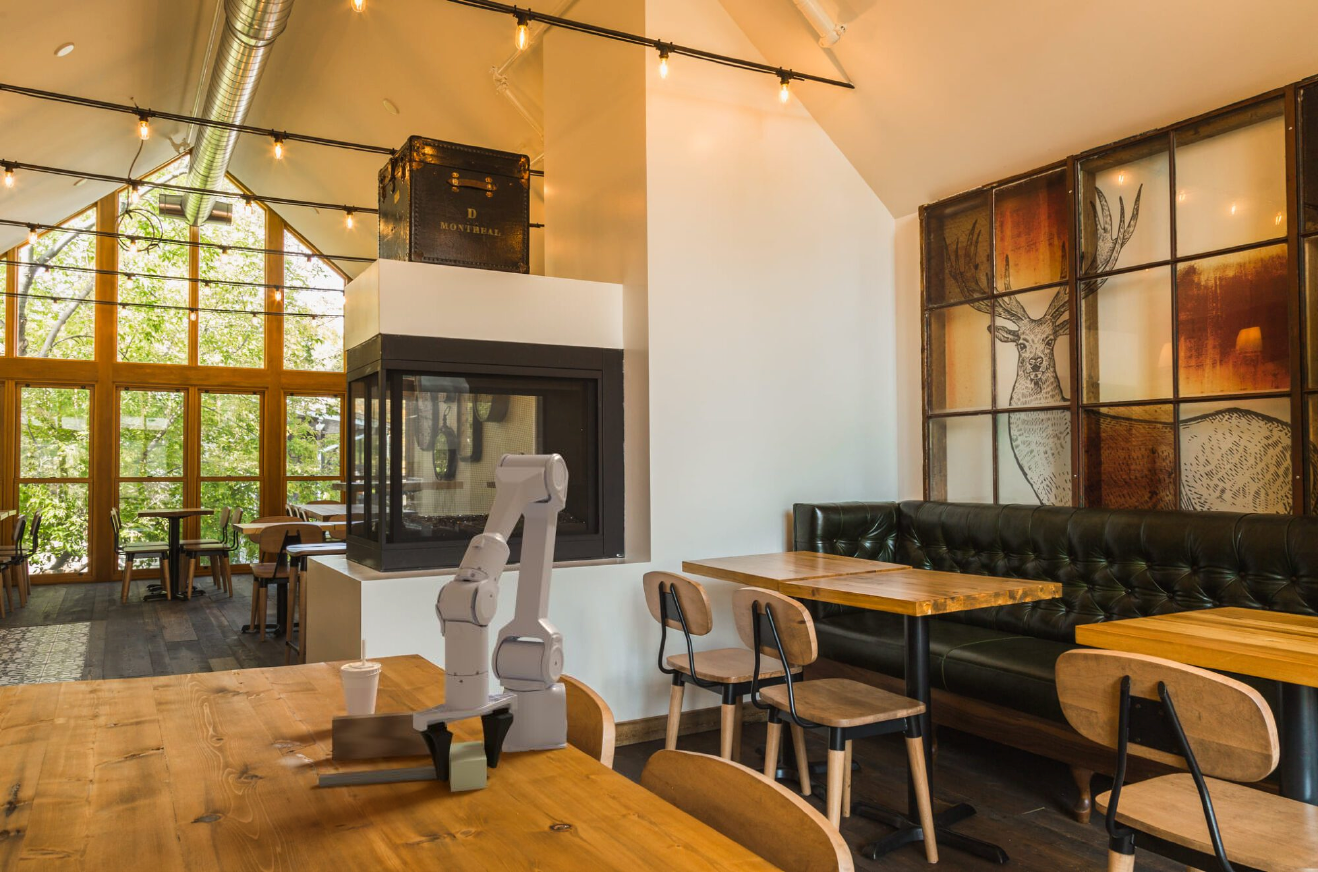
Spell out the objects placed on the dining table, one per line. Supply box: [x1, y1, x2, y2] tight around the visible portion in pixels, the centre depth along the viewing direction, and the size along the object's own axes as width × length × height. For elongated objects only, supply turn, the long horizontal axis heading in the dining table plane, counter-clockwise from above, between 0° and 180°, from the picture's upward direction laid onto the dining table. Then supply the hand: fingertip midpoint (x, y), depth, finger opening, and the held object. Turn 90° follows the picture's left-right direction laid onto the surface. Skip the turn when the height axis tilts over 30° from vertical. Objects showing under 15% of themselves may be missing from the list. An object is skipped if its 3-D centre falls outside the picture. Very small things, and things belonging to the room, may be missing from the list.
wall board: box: [331, 710, 448, 761], centre depth 129 cm, size 16×2×6 cm, turn 102°
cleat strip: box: [318, 765, 438, 788], centre depth 118 cm, size 16×1×2 cm, turn 102°
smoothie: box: [339, 638, 382, 716], centre depth 143 cm, size 6×6×14 cm
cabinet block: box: [449, 740, 488, 793], centre depth 118 cm, size 4×8×4 cm, turn 16°
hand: (467, 772), depth 118 cm, fingers open, 7 cm apart
